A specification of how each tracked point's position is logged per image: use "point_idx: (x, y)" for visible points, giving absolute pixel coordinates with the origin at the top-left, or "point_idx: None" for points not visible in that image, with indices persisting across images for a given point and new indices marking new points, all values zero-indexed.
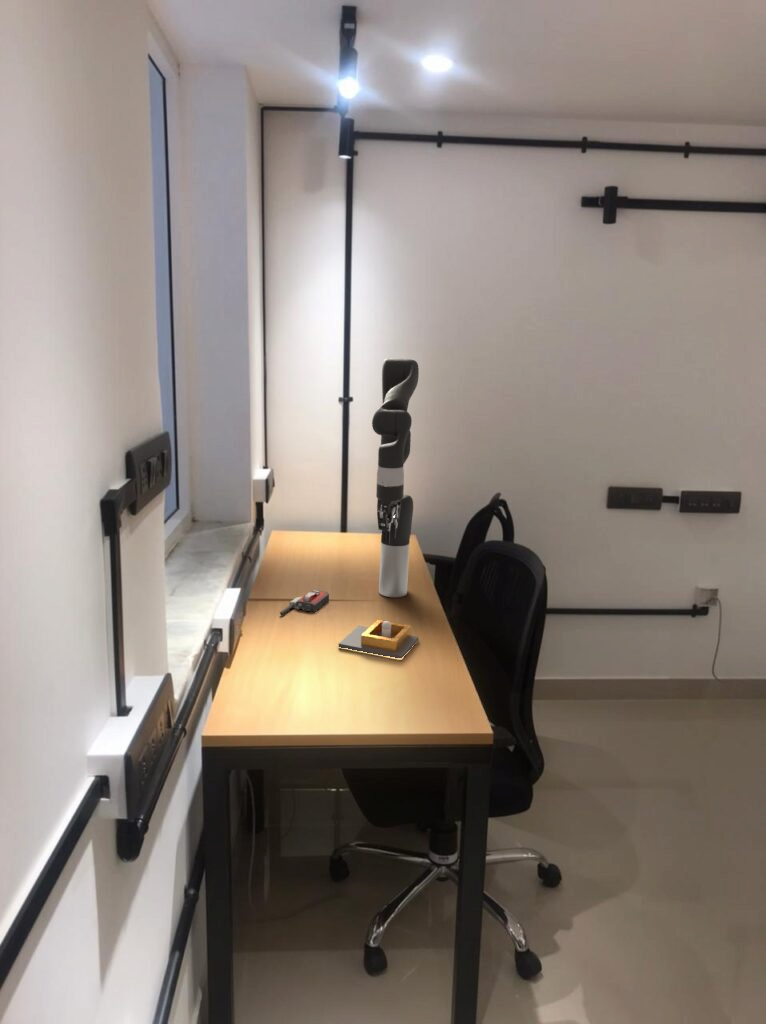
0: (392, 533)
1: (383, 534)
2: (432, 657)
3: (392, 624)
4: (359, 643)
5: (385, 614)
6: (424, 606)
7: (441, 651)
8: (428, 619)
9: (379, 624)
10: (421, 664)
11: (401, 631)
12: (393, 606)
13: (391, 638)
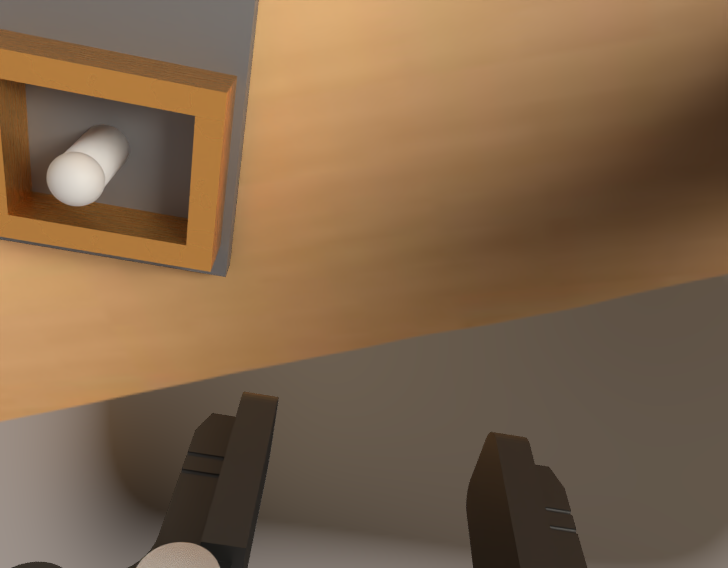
0: (481, 533)
1: (165, 519)
2: (98, 329)
3: (191, 183)
4: (12, 13)
5: (546, 63)
6: (683, 243)
7: (170, 352)
8: (507, 277)
9: (181, 110)
10: (12, 299)
11: (118, 238)
12: (678, 88)
13: (6, 206)
